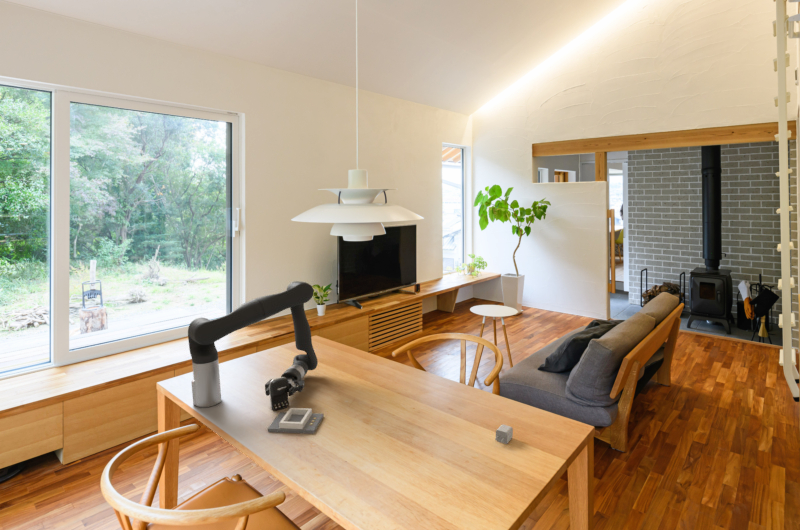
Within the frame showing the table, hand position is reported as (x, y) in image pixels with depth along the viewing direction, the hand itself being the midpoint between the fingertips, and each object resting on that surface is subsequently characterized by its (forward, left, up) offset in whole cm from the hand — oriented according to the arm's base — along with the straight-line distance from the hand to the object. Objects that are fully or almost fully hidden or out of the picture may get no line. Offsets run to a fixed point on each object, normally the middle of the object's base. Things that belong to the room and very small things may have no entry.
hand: (278, 393), depth 167 cm
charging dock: (+10, -10, -7) cm, 15 cm away
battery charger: (0, +2, -7) cm, 7 cm away
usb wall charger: (+80, -15, -7) cm, 82 cm away
